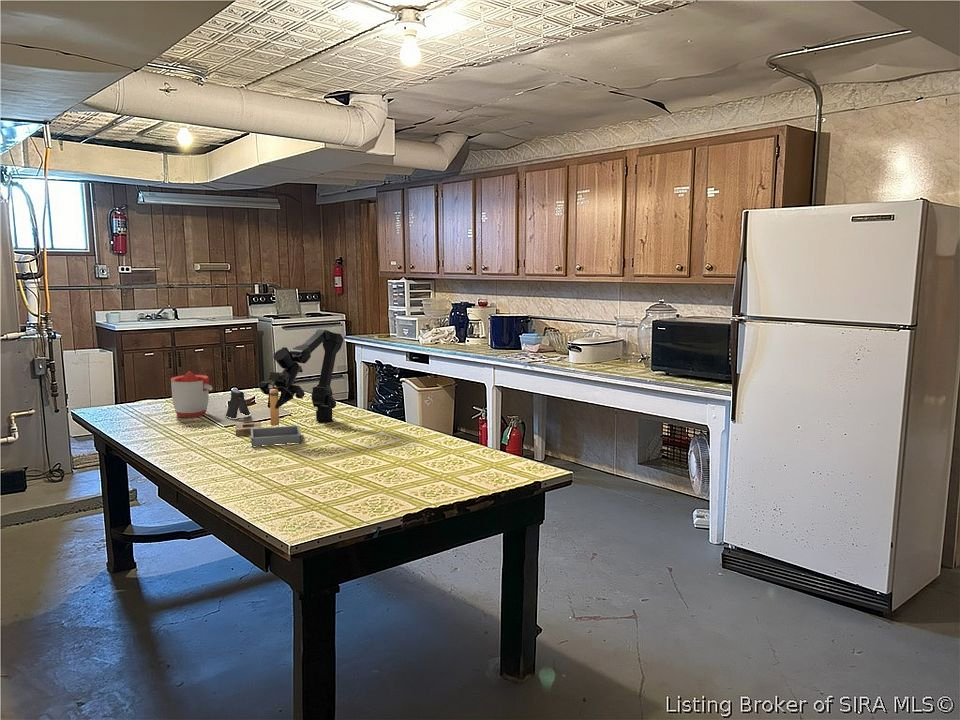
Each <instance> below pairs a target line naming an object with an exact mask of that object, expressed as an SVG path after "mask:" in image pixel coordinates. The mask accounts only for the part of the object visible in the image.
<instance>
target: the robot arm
mask: <svg viewBox="0 0 960 720" xmlns="http://www.w3.org/2000/svg"><path fill="white" fill-rule="evenodd" d="M343 342H344V337H343V336H342V334H341V333H336V332H332V331H330V330H328V329H320V328H319V329H317V330H316V331H315V333H314V334H312V336H310V337H309V338H308V339H307V340H306V341H305V342H303V343H302V344H301V345H296V346H295V347H293V348H291V349H290V350H289V348H288V347H284V346H282V347H281V348H280V349H278V350H277V351H275V352H274V353H273V357H272V358H273V359H274V361H275V362H276V363H277V365H279V367H280V368H281V369H282V371H281V372H275V371H269V375H268V379H267V380H268V381H260V382H259V383H258V386H257V387H258V388H259V390H260V391H261V392H262V393H263V394H264V395H266V396H268V399H267V408H269V409H270V390H271V389H278V393H280V396H279V397H278V402H277V404H276V406H275V408H276V409H278V408H280V407H282V406H283V405H284V404H286V403H288V402H289V401H291V400H293V399H294V395H295V397H296V399H301V400H302V399H303V398H304V396H305V391H304V390H303V388H302V387H301V386H300V385H297V384H296V383H297V381H296V378H297V376H298V375H299V373H301V374H302V373H303V372H304V371H303V368H302V365H300V364H307V362H308V361H309V360H310V359H311V356H312V353H313V352H314V351H315V350H316V349H317V348H318V347H319V346H320V345H321V344H322V348H323V351H324V355H323V360H322V365H321V369H320V375H319V381H318V384H317V385H316V386H313V387H312V392H311V394H310V395H311V401H312V406H313V407H314V408H316V409H315V420H316V421H317V423H331V422H332V423H333V422H334V419H333V409H335V408H336V406H337V401H336V399H335V398H334V397H333V390H332V388H331V383H332V378H333V372H334V368H335V361H336V358H337V357H336V356H337V354H338V352H339V351H340V350H342V349H341V348H342V346H343ZM269 381H272V383H273V384H274V385H273V384H271V382H269Z"/></svg>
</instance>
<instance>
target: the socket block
mask: <svg viewBox="0 0 960 720" xmlns="http://www.w3.org/2000/svg"><path fill="white" fill-rule="evenodd" d="M254 428H263V427H262V421H257V422H256V421H255V422H243V423H242V422H240V423H239V422H238V423H237V422H236V423H235V436H236V437H239V436H251V429H254Z"/></svg>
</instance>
